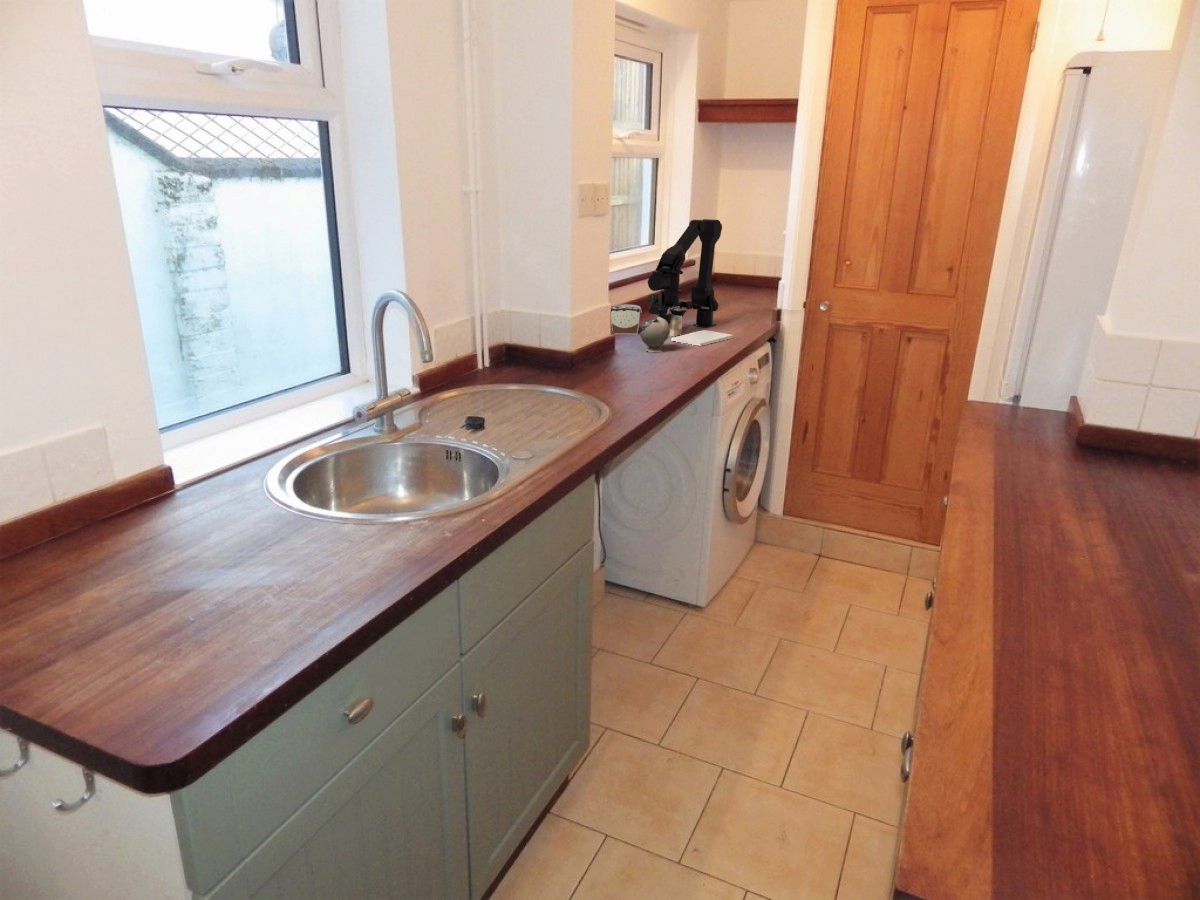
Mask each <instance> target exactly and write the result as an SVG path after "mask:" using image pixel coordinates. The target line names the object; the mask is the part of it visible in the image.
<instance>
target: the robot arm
mask: <svg viewBox="0 0 1200 900" xmlns="http://www.w3.org/2000/svg"><path fill="white" fill-rule="evenodd" d="M722 230H723V225H722V223H721V220H719V219H711V218H708V219H707V218H703V219H691V220H690V221H689V223H688V226H687V228H686V229H684V231H683V233H682V234H681V235H680V237H679V238H678V240H677V241H676V242H675V244H674V245H672V246H671V247H668V248H667V249H666V250H664V252H663V253H662V255H661V257H660V259H659V262H658V264H657V266H656V268H655V270H653V271H652V274H651V275H650V276H649V277H648V280H647V285H648V288H649V289H650V291H652V292H657V291H660V293H659V294H658V295H657V294H655V293H651V294H648V297H647V302H648V304H650V306H649V307H648V314H653V315H656V316H657V315H659V316H658V317H661V318H663V319H665V320H666V321H667V322H668V324H670V320H671V316H672V315H678V316H682V318H683V317H684V315H685V313H687V310H691V309H693V310H696V316H695V317H696V318H695V323H693V326H694V325H697V326H696V327H700V326H702V327H701V328H711V327H714V326H717V324H716V323H713V322H714V312H717V311H719V310H718V309H719V303H718V301H717V300H716V298H715V289H714V288H713V285H712V275H713V267H714V266H713V265H714V258H715V257H714V256H715V248H716V244H717V242H718V241H719V240H720V238H721V234H722ZM698 237H699V241H700V243H701V249H700V257H699V258H700V259H699V267H698V276H697V277H698V278H697V283H696V284H695V286H692V288H691V294H690V299H691V300H687V299H680V294H682V290H680V279H681V278H680V275H683V274H684V271H683V270H681V268H682V267H683V264H684V263H685V261H686V255H687V252H688V250H690V248H691V246H692V245H693V244H694V242H695V241H696V239H697V238H698ZM684 308H685V309H686V310H685V309H684ZM659 313H660V314H659Z"/></svg>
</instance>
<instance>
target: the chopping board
mask: <svg viewBox="0 0 1200 900" xmlns="http://www.w3.org/2000/svg"><path fill="white" fill-rule="evenodd" d="M733 338H734V335H733V334H729V333H724V332H718V331H712V330H706V329H703V330H700V331H698V330H697V331H693V332H690V333H686V334H682V335H680V336H676V337H670V339H671V340H670V342H672V341H676V342H675V343H677V342H681V343H680V344H683V343H688V344H692V345H691V346H693V345H699V346H702V345H706V344H709V345H711V344H710V343H713V344H715V343H714V342H717V343H719V341H721V342H724V341H727V339H728V340H731V339H733ZM723 340H724V341H723ZM688 344H687V345H688ZM706 346H707V345H706ZM702 347H703V346H702Z"/></svg>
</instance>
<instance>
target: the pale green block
mask: <svg viewBox="0 0 1200 900" xmlns="http://www.w3.org/2000/svg"><path fill="white" fill-rule="evenodd" d="M669 327H670V333H669V335H670V336H669V337H671V336H676V335H680V334H682V335H683V333H682V332H683V331H682V330H683V317H682V316H678V315H672V316H671V320H670V324H669ZM680 336H681V335H680ZM676 337H677V336H676Z"/></svg>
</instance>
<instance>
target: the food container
mask: <svg viewBox="0 0 1200 900" xmlns="http://www.w3.org/2000/svg"><path fill="white" fill-rule="evenodd" d="M611 307H612V309H611V316H610V323H611V332H612V331H613V333H615V334H614V335H639V333H638V332H639V326H640V325H639V324H640V316H641V314H642V313H643V312H642V308H641V306H640V305H637V304H613V305H611Z"/></svg>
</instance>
